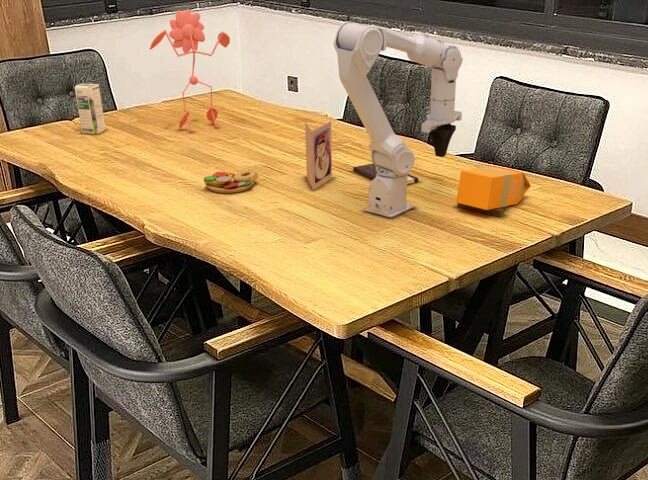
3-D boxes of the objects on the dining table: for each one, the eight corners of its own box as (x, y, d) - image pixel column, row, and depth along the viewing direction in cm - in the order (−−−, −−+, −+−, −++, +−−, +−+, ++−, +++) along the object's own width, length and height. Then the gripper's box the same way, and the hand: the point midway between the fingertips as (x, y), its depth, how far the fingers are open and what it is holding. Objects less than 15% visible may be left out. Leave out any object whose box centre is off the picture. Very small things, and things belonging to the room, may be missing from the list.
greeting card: (316, 190, 217) (314, 131, 209) (291, 187, 219) (288, 128, 211) (334, 178, 225) (334, 121, 217) (310, 175, 228) (308, 118, 220)
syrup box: (81, 133, 269) (73, 86, 261) (91, 129, 274) (83, 82, 266) (97, 134, 268) (89, 87, 260) (106, 130, 272) (99, 83, 264)
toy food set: (263, 181, 224) (262, 169, 222) (245, 196, 213) (244, 184, 212) (217, 177, 227) (215, 165, 226) (197, 192, 217) (196, 180, 215)
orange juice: (455, 202, 201) (498, 194, 215) (487, 210, 196) (528, 201, 210) (460, 169, 197) (503, 163, 211) (492, 176, 192) (534, 170, 206)
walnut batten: (500, 217, 198) (500, 211, 197) (457, 207, 205) (457, 201, 204) (504, 215, 199) (505, 209, 199) (461, 204, 206) (462, 199, 205)
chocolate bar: (380, 161, 234) (418, 178, 221) (380, 165, 235) (418, 181, 222) (353, 167, 230) (390, 183, 217) (353, 170, 231) (390, 187, 218)
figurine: (240, 124, 276) (232, 8, 257) (169, 137, 264) (155, 15, 245) (219, 115, 287) (209, 3, 268) (149, 127, 274) (134, 10, 256)
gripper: (445, 90, 205) (443, 146, 212) (411, 102, 196) (410, 160, 203) (470, 94, 201) (466, 150, 208) (436, 106, 192) (434, 165, 199)
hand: (440, 155), depth 205 cm, fingers closed
